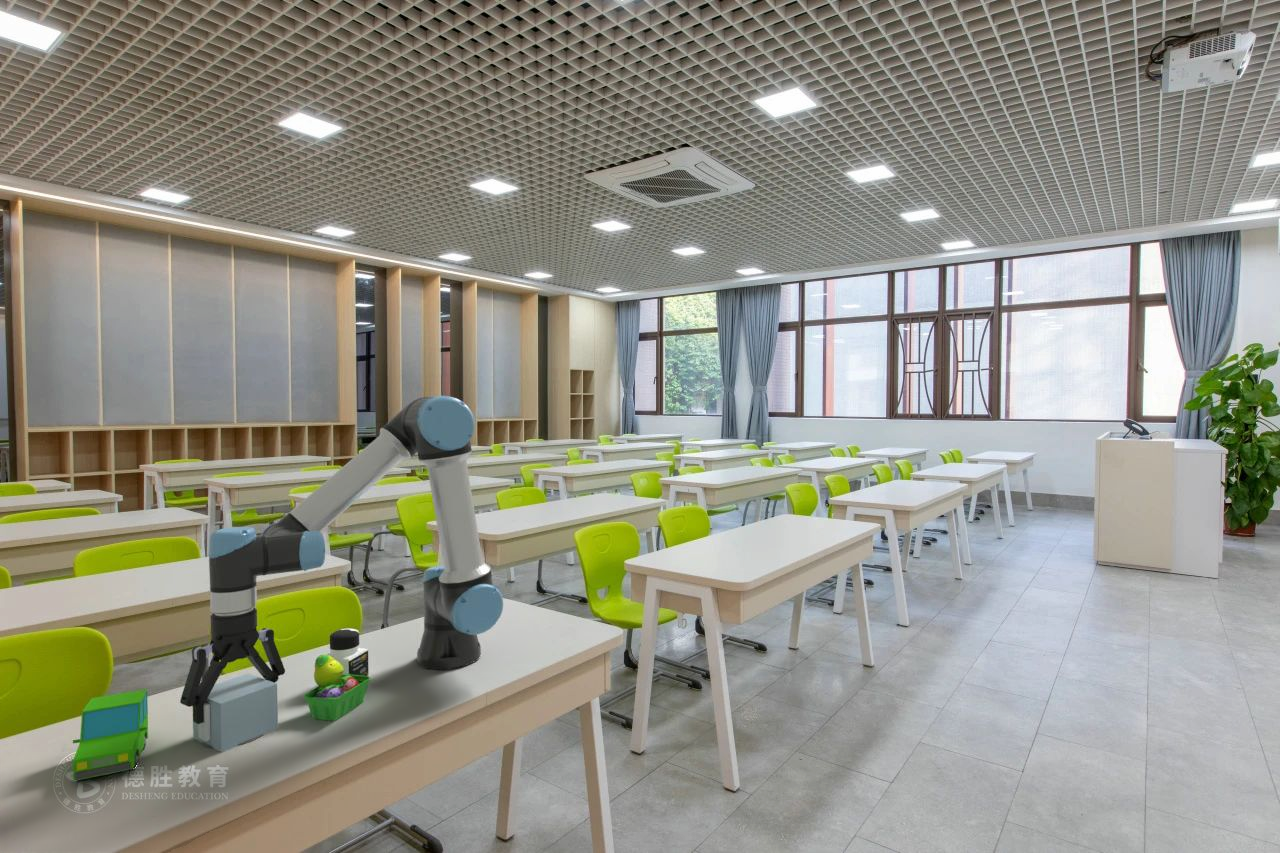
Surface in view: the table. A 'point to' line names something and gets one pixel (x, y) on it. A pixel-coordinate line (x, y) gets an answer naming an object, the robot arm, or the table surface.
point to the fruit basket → (334, 690)
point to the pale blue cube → (240, 711)
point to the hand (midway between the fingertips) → (236, 726)
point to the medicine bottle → (349, 652)
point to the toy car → (111, 734)
